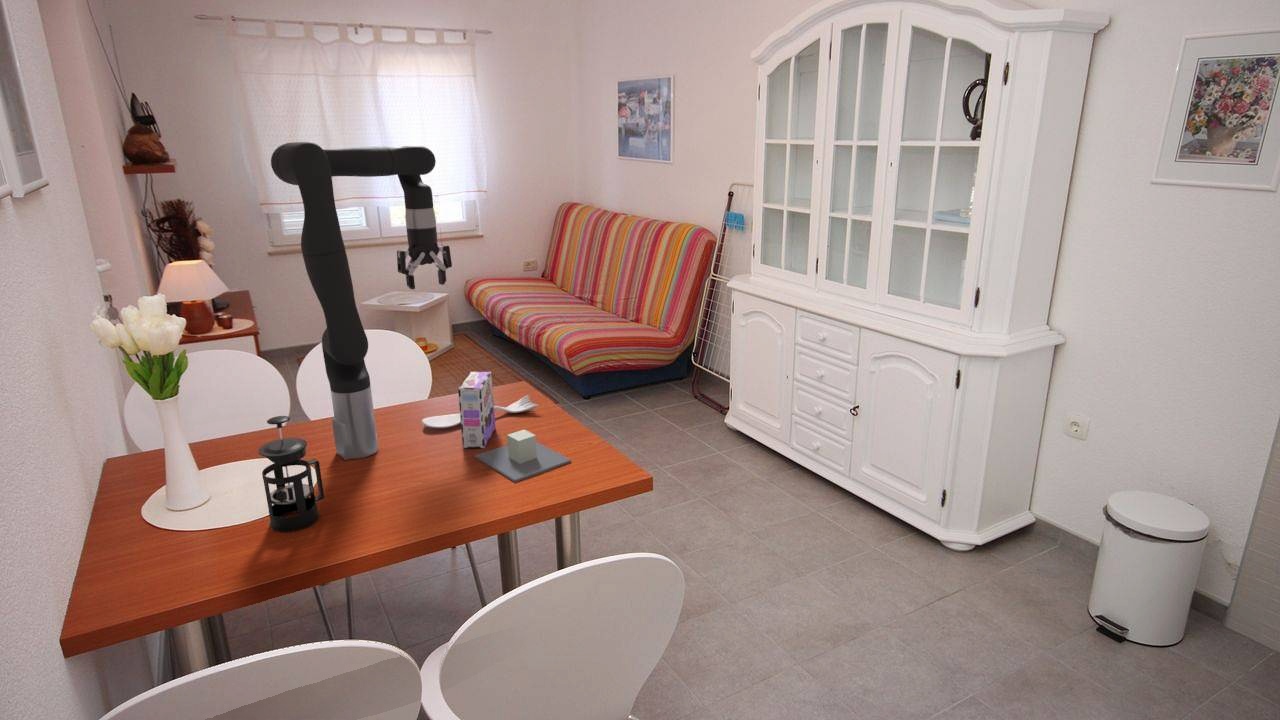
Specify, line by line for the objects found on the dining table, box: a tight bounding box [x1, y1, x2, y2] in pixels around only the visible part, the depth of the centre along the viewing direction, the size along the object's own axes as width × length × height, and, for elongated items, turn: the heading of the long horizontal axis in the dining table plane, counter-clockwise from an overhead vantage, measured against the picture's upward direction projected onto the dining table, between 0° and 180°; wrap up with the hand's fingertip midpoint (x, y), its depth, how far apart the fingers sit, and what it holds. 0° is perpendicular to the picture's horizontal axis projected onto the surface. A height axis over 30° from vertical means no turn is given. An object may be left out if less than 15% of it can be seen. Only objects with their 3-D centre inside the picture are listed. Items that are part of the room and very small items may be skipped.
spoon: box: [421, 395, 540, 429], centre depth 207 cm, size 9×32×4 cm, turn 118°
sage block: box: [506, 429, 537, 464], centre depth 180 cm, size 5×5×6 cm
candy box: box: [458, 371, 496, 449], centre depth 192 cm, size 14×6×16 cm, turn 179°
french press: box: [257, 415, 325, 533], centre depth 151 cm, size 12×9×23 cm
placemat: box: [474, 441, 572, 483], centre depth 181 cm, size 16×18×1 cm
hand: (427, 286), depth 197 cm, fingers open, 8 cm apart
